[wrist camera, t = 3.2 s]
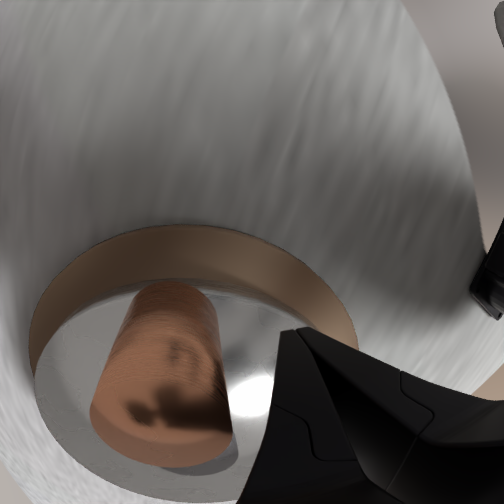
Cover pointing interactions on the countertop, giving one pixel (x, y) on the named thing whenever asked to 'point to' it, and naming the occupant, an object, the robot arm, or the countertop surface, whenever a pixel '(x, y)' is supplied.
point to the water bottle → (500, 20)
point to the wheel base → (189, 276)
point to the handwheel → (165, 385)
